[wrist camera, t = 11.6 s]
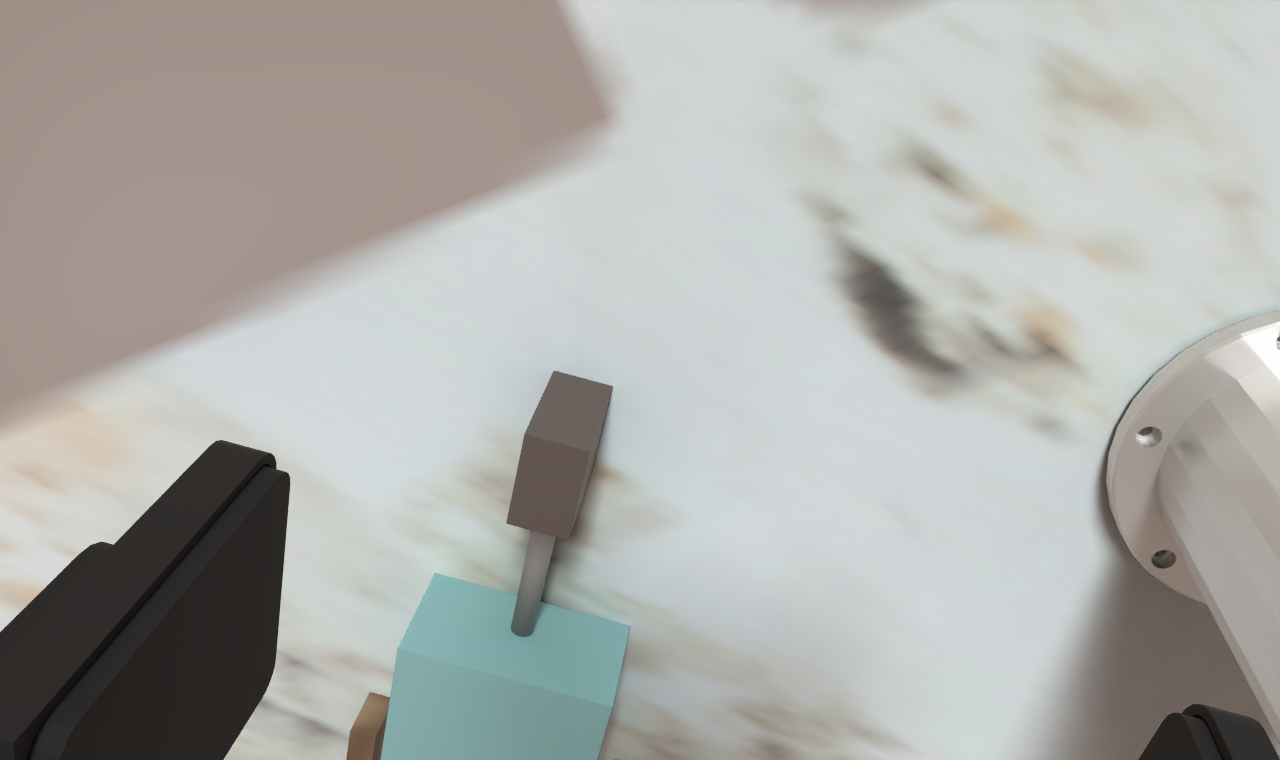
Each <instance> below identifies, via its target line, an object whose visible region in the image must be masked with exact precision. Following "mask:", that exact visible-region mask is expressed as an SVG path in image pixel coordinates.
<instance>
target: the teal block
mask: <svg viewBox="0 0 1280 760" xmlns="http://www.w3.org/2000/svg"><path fill="white" fill-rule="evenodd" d="M612 387H613V386H609V385H605V384H602V383H598V382H594V381H590V380H587V379H583V378H579V377H576V376H572V375H568V374H564V373H561V372H557V371H554V372H553V374H552V376H551V378H550V380H549V382H548V385H547V387H546V389H545V391H544V393H543V395H542V398H541V400H540V402H539V404H538V406H537V408H536V411H535V413H534V415H533V417H532V419H531V421H530V424H529V426H528V428H527V430H526V432H525V435H524V440H523V445H522V450H521V454H520V459H519V464H518V469H517V474H516V479H515V484H514V489H513V494H512V498H511V503H510V508H509V513H508V518H507V524H510V525H514V526H518V527H521V528H525V529H529V530H532V533H531V537H530V542H529V546H528V551H527V555H526V560H525V564H524V569H523V573H522V578H521V583H520V587H519V592H518V595H514V594H511V593H507V592H503V591H500V590H496V589H492V588H489V587H485V586H481V585H478V584H474V583H470V582H467V581H463V580H459V579H456V578H452V577H448V576H445V575H441V574H437V573H435V574H434V576H433V578H432V580H431V582H430V585H429V587H428V589H427V591H426V593H425V595H424V597H423V599H422V601H421V603H420V605H419V607H418V609H417V611H416V613H415V615H414V617H413V619H412V621H411V623H410V625H409V627H408V629H407V631H406V633H405V635H404V637H403V639H402V641H401V643H400V645H399V647H398V650H397V657H396V663H395V670H394V676H393V683H392V689H391V696H390V702H389V709H388V715H387V721H386V728H385V734H384V741H383V747H382V754H381V760H597V759H598V755H599V752H600V748H601V745H602V742H603V738H604V735H605V731H606V728H607V725H608V721H609V718H610V714H611V711H612V708H613V703H614V699H615V694H616V690H617V685H618V680H619V676H620V671H621V667H622V662H623V657H624V653H625V648H626V644H627V639H628V634H629V630H630V626H628V625H625V624H621V623H617V622H614V621H610V620H606V619H603V618H599V617H595V616H592V615H588V614H584V613H581V612H577V611H573V610H570V609H566V608H562V607H559V606H555V605H551V604H548V603H544V602H541V598H542V594H543V589H544V585H545V581H546V577H547V572H548V568H549V564H550V560H551V555H552V551H553V547H554V542H555V538H556V537H558V538H562V539H566V540H569V538H570V535H571V532H572V529H573V526H574V523H575V520H576V517H577V514H578V511H579V508H580V505H581V502H582V499H583V496H584V493H585V490H586V487H587V484H588V481H589V478H590V475H591V472H592V469H593V465H594V461H595V457H596V453H597V448H598V444H599V440H600V436H601V432H602V428H603V424H604V420H605V416H606V412H607V408H608V404H609V400H610V396H611V391H612Z"/></svg>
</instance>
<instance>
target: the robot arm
mask: <svg viewBox="0 0 1280 760" xmlns="http://www.w3.org/2000/svg"><path fill="white" fill-rule="evenodd" d="M1279 336H1280V311H1277V312H1272V313H1268V314H1264V315H1260V316H1256V317H1252V318H1249V319H1246V320H1244V321H1241V322H1239V323H1236V324H1234V325H1231V326H1229V327H1226V328H1224V329H1221V330H1219V331H1217V332H1214V333H1213V334H1211V335H1209V336H1207V337H1206V338H1204V339H1202V340H1201V341H1199V342H1197V343H1196V344H1194V345H1192V346H1191V347H1189V348H1187V349H1186V350H1184V351H1182V352H1181V353H1180V354H1179V355H1177V356H1176V357H1175V358H1174V359H1173V360H1171V361H1170V362H1169V363H1168V364H1167V365H1165V366H1164V367H1163V368H1162V369H1161V370H1159V371H1158V372H1157V373H1156V374H1155V375H1154V376H1153V377H1152V378H1151V379H1150V381H1149V382H1148V383H1147V384H1146V385H1145V386H1144V388H1143V389H1142V390H1141V391H1140V392H1139V393H1138V395H1137V396H1136V397H1135V398H1134V399H1133V401H1132V403H1131V404H1130V406H1129V408H1128V409H1127V411H1126V413H1125V415H1124V416H1123V418H1122V420H1121V422H1120V423H1119V425H1118V427H1117V430H1116V433H1115V436H1114V439H1113V442H1112V445H1111V448H1110V451H1109V454H1108V464H1107V475H1106V485H1107V492H1108V499H1109V507H1110V509H1111V512H1112V514H1113V517H1114V519H1115V522H1116V524H1117V527H1118V529H1119V532H1120V534H1121V535H1122V537H1123V539H1124V541H1125V543H1126V544H1127V546H1128V548H1129V550H1130V552H1131V553H1132V555H1133V556H1134V557H1135V558H1136V559H1137V560H1138V562H1139V563H1140V564H1141V565H1142V566H1143V567H1144V569H1145V570H1146V571H1148V572H1149V573H1150V574H1151V575H1152V576H1154V577H1155V578H1157V579H1158V580H1159V581H1161V582H1162V583H1164V584H1165V585H1166V586H1168V587H1169V588H1171V589H1172V590H1174V591H1176V592H1178V593H1180V594H1182V595H1185V596H1187V597H1189V598H1191V599H1193V600H1195V601H1198V602H1200V603H1204V604H1207V606H1208V608H1209V610H1210V612H1211V613H1212V615H1213V617H1214V619H1215V621H1216V623H1217V625H1218V627H1219V629H1220V631H1221V632H1222V634H1223V636H1224V638H1225V640H1226V642H1227V644H1228V646H1229V648H1230V650H1231V651H1232V653H1233V655H1234V657H1235V659H1236V661H1237V663H1238V665H1239V667H1240V669H1241V670H1242V672H1243V674H1244V676H1245V678H1246V680H1247V682H1248V684H1249V686H1250V688H1251V689H1252V691H1253V693H1254V695H1255V697H1256V699H1257V701H1258V703H1259V705H1260V707H1261V708H1262V710H1263V712H1264V714H1265V716H1266V718H1267V720H1268V722H1269V724H1270V726H1271V727H1272V729H1273V731H1274V733H1275V735H1276V737H1277V739H1278V741H1279V743H1280V337H1279ZM1146 427H1147V428H1146ZM1143 428H1146V429H1144V430H1141V429H1143ZM289 492H290V477H289V474H288V473H287V472H284V471H280V470H276V460H275V457H274V456H273V455H272V454H271V453H267V452H264V451H260V450H256V449H253V448H249V447H245V446H241V445H238V444H234V443H230V442H227V441H223V440H220V441H216V442H214V443H213V444H212V445H211V446H209V447H208V448H207V450H206V451H205V452H204V453H203V454H202V455H201V456H200V457H199V458H198V459H197V460H196V461H195V462H194V463H193V464H192V465H191V466H190V467H189V468H188V469H187V470H186V471H185V472H184V473H183V474H182V475H181V476H180V477H179V478H178V479H177V480H176V481H175V482H174V483H173V484H172V485H171V486H170V488H169V489H168V490H167V491H166V492H165V493H164V494H163V495H162V496H161V497H160V498H159V499H158V500H157V501H156V502H155V503H154V504H153V505H152V506H151V507H150V508H149V509H148V510H147V511H146V512H145V513H144V514H143V515H142V516H141V517H140V518H139V519H138V520H137V521H136V522H135V523H134V524H133V525H132V527H131V528H130V529H129V530H128V531H127V532H126V533H125V534H124V535H123V536H122V537H121V538H120V539H119V540H118V541H117V542H116V543H115V544H114V545H112V544H108V543H105V542H99V543H96V544H93V545H90V546H89V547H88V548H87V549H85V550H84V551H83V552H81V553H80V554H79V555H78V556H77V557H76V558H75V559H74V560H73V561H72V562H71V563H70V564H69V565H68V566H67V567H66V568H65V569H64V570H63V571H62V572H61V573H60V574H59V575H58V576H57V577H56V578H55V579H54V580H53V581H52V582H51V583H50V584H49V585H48V586H47V587H46V588H45V589H44V590H43V591H42V592H41V593H40V594H39V595H38V596H36V597H35V598H34V599H33V600H32V601H31V602H30V603H29V604H28V605H27V606H26V607H25V608H24V609H23V610H22V611H21V612H20V613H19V614H18V615H17V616H16V617H15V618H14V619H13V620H12V621H11V622H10V623H9V624H8V625H7V626H6V627H5V628H4V629H3V630H2V631H1V632H0V760H223V759H224V758H225V756H226V755H227V753H228V751H229V750H230V748H231V747H232V745H233V743H234V742H235V740H236V739H237V737H238V735H239V734H240V732H241V731H242V729H243V728H244V726H245V724H246V723H247V721H248V720H249V718H250V716H251V715H252V713H253V712H254V710H255V708H256V707H257V705H258V704H259V702H260V700H261V699H262V697H263V695H264V694H265V692H266V690H267V687H268V685H269V683H270V680H271V677H272V674H273V670H274V667H275V660H276V649H277V637H278V625H279V613H280V601H281V589H282V577H283V565H284V552H285V540H286V528H287V516H288V504H289ZM1139 760H1280V759H1279V757H1278V755H1277V753H1276V751H1275V749H1274V747H1273V745H1272V743H1271V741H1270V739H1269V738H1268V736H1267V734H1266V732H1265V730H1264V729H1263V727H1262V726H1261V725H1260V723H1259V722H1257V721H1256V720H1254V719H1252V718H1250V717H1246V716H1242V715H1238V714H1235V713H1231V712H1227V711H1224V710H1220V709H1216V708H1213V707H1209V706H1205V705H1201V704H1193V705H1191V706H1190V707H1188V708H1186V709H1185V710H1184V712H1183V713H1182V714H1180V713H1172V714H1170V715H1168V716H1167V717H1166V718H1165V720H1164V721H1163V722H1162V724H1161V725H1160V727H1159V728H1158V730H1157V731H1156V733H1155V735H1154V736H1153V738H1152V739H1151V741H1150V742H1149V744H1148V746H1147V747H1146V749H1145V750H1144V752H1143V753H1142V755H1141V756H1140V758H1139Z"/></svg>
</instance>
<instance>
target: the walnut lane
mask: <svg viewBox="0 0 1280 760" xmlns="http://www.w3.org/2000/svg"><path fill="white" fill-rule="evenodd" d="M389 702H390V698H388V697H385V696H381V695H377V694H374V693H369V695H368V697H367V699H366V701H365V703H364V705H363V707H362V709H361V711H360V713H359V715H358V717H357V719H356V721H355V723H354V725H353V727H352V729H351V731H350V737H349V745H348V752H347V760H381V754H382V747H383V741H384V734H385V728H386V721H387V715H388V709H389Z"/></svg>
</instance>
